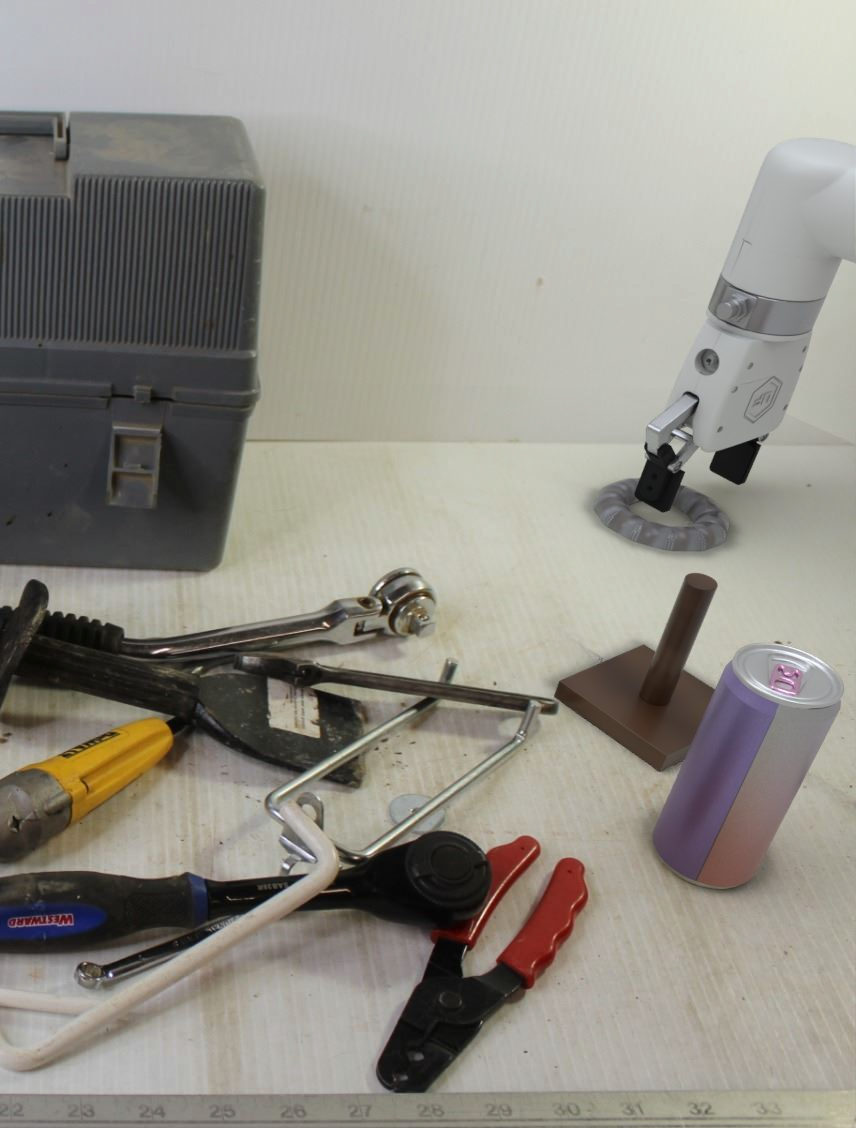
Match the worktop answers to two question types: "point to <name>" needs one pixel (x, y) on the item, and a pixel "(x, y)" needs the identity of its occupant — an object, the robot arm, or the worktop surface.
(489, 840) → the worktop surface
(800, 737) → the beverage can
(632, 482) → the ring
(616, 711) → the stand
